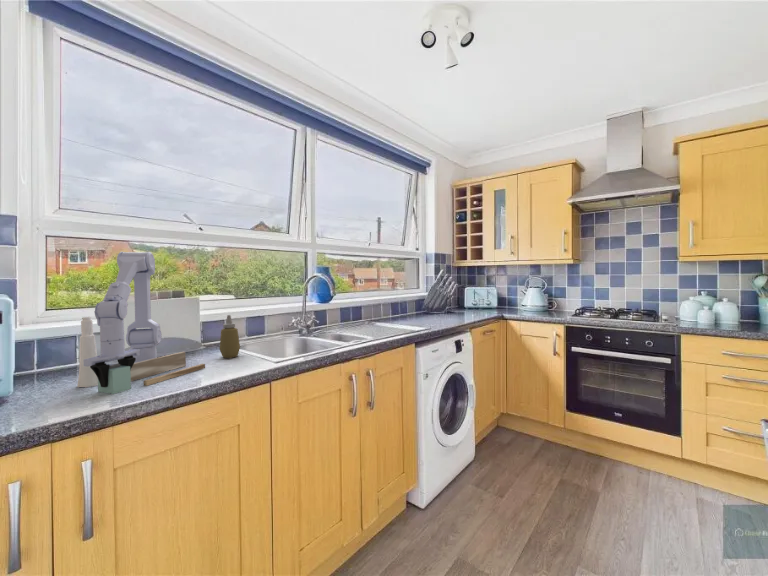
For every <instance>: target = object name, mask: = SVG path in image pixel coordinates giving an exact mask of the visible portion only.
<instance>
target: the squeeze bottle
mask: <svg viewBox="0 0 768 576" xmlns="http://www.w3.org/2000/svg"><path fill="white" fill-rule="evenodd" d="M222 327H223V328H222V329H221V330H220V340H219V351H220V354H221V355H222V358H223V359H231V358H236V357H238V356H239V352H240V350H241V344H240V339H239V330H238V328H236V323H235V322H233V320H232V316H231V314H228V315H226V320H225V323H223V324H222Z"/></svg>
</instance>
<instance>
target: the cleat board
mask: <svg viewBox="0 0 768 576" xmlns="http://www.w3.org/2000/svg"><path fill="white" fill-rule="evenodd" d="M186 358H187V357H186V351H180V352H174V353H172V354H166V355H163V356H157V358H153V359H149V360H145V361H141V362H137V363H134V364H133V366H132V368H131V370H130V373H131V382H134V381H137V379H138V380H141V379H144V377H145V378H147V377H151V376H154V375H158V374H162V373H165V371H166V372H168V373H166V374H162V375H158V376H155V377H152V378H147V379H145V380H143V386H146V387H149V386H150V385H153V384H154V385H155V384H158V383H160V382H161V383H162V382H164V381H167V380H170V378H171V379H173V378H177V377H180V376H183V375H187V374H190V373H193V372H197V371H199V370H203V369H205V368H206V364H205V363H200V364H196V365H193V366H189V367H186V366H187V363H186V361H187V359H186ZM183 367H186V368H183ZM180 368H183V369H180ZM176 369H179V370H177V371H176ZM169 370H170V371H172V372H170V371H169ZM173 370H175V371H173ZM157 382H158V383H157Z"/></svg>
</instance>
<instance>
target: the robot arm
mask: <svg viewBox="0 0 768 576" xmlns="http://www.w3.org/2000/svg"><path fill="white" fill-rule="evenodd" d="M116 264H117V266H118V269H119V270H118V273H117V277H116V280H115V282H112V283H110V284H109V286H108V288H107V290H106V293H105V295H104V297H103V299H102V300H101V301H100V302H98V303H96V305H95V307H94V317H95V319H96V323H97V326H98V327H99V336H100V337H99V338H100V340H99V341H100V355H97V356H96V357H92V358H88V359H84V360H83V361H84V366H87V367H89V366H90V368H91V369H92V370H93V371H94V373H95V374H96V376H97V378H98V380H99V382H100V385H101V387H108V371H109V367H110V365H111V364H107V363H108V362H113V361H117V364H120V365H122V366H130V370H131V368H132V366H133V364H134V363H137V362H141V361H145V360H149V359H153V358H158V352H157V346H158V345H159V344H160V343H161V342H162V330H161V325H160V323H158V322H156V321H155V320H153V319H152V309H151V306H152V305H151V276H154V275H155V273H156V272H155V271H156V259H155V256H154V254H153V253H152V252H151V251H142V252H141V251H120V252H119V253H118V254H117V255H116ZM132 281H133V287H134V290H133V291H134V293H133V294H134V296H133V297H134V321H133V322H132V323H130V324H129V325H127V329H126V335H125V326H124V324H125V322H124V321H125V320H124V319H125V318H126V317H127V314H128V305H129V304H128V299H129V298H130V295H131V293H132V288H131V286H130V284H131V283H132ZM125 342H126V344H127V345H128V347H130V348H129V349H128V350H126V345H125Z"/></svg>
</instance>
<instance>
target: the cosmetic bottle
mask: <svg viewBox="0 0 768 576" xmlns="http://www.w3.org/2000/svg"><path fill="white" fill-rule="evenodd" d="M93 327H94V326H93V319H92V317H91V316H84V317H83V316H82V318H81V321H80V329H81V332H80V333H81V335H80V336H79V367H78V368H79V369H78V380H77V386H76V387H77V388H79V387H85V388H91V386H92V387H95V386H98V378H97V376H96V374H95V373H94V371H93V370H92V369H91V368H90V366H89V367H87V366H84V361H83V360H84V359H88V358H92V357H96V356H98V352H97V351H98V350H97V342H96V335H95V334H94V329H93Z"/></svg>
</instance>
